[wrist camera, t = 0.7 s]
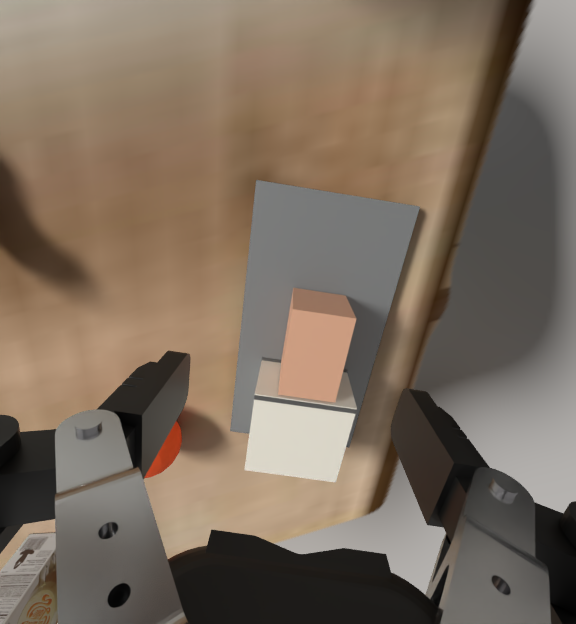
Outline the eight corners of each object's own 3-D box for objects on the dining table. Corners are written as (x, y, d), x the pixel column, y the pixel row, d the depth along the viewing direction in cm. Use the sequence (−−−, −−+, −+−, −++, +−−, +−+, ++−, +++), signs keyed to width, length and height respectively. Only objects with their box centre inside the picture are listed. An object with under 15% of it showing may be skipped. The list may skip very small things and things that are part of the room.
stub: (293, 287, 29) (292, 309, 24) (345, 295, 29) (356, 318, 24) (281, 361, 32) (278, 394, 27) (328, 367, 32) (335, 402, 27)
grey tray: (258, 180, 27) (245, 176, 20) (415, 206, 27) (452, 210, 21) (232, 423, 37) (218, 474, 30) (347, 439, 37) (358, 493, 30)
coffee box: (89, 569, 48) (-4, 740, 33) (51, 571, 49) (-58, 740, 34) (68, 530, 45) (-47, 700, 30) (26, 532, 45) (-107, 701, 30)
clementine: (124, 437, 38) (88, 489, 31) (122, 391, 35) (81, 437, 29) (189, 446, 38) (166, 499, 32) (191, 400, 36) (167, 448, 29)
